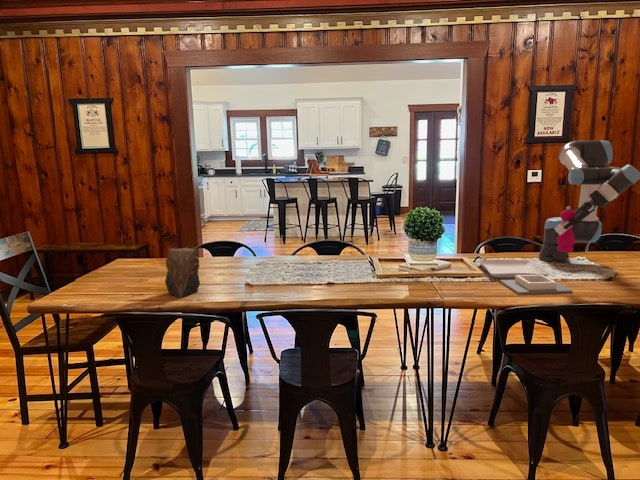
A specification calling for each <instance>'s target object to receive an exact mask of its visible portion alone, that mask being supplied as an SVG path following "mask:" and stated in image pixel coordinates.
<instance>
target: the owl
mask: <svg viewBox="0 0 640 480" xmlns="http://www.w3.org/2000/svg"><path fill="white" fill-rule="evenodd" d="M167 252H168V253H167V257H166V258H165V259H166V260H165V268H166V269H167V273H166V277H165V280H164V283H165V286H166V288H167V293H168V295H171V296H173V297H175V298H178V299H183V298H187V297H189V296H191V295H194V294H196V293H199V290H198V289H199V286H200V284H201V282H200V277H199V270H200V259H199V256H198V248H191V247H189V246H188V247H183V248H167Z"/></svg>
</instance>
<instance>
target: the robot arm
mask: <svg viewBox="0 0 640 480" xmlns="http://www.w3.org/2000/svg"><path fill="white" fill-rule="evenodd" d="M613 155H614V154H613V147H612V144H611V142H610V141H609V140H604V139H603V140H601V139H598V140H597V139H595V140H591V139H590V140H588V139H587V140H573V141H570V142H568V143H567V142H566V144H564V145H563V146H562V147H561V148H560V149H559V152H558V155H557V156H558V157H557V158H558V161H560V163H561V164H562V165H563V166H565V167H566V168H567V170H568V176H567V180H568V183H569V184H570V185H577V186H580V193H579V200H578V208H577V209H576V210H573V211H574V212H575V214H576V215H575V216H574V217H573V218H572V219H571V220H570V219H568V221H567V222H566V223H565V224H563V225H562V224H561V220H562V219H561V217H560V216H558V217H556V216H555V217H550V218H547V219H546V221H545V224H544V230H543V243H542V247H541V249H540V251H539V254H538V259H539V260H540V261H544V262H549V263H559V264H560V263H568V262H570V254H569V252H561V251H558V250H557V248H558V246H559V244H558V243H557V238H558V235H562V234H563V233H564V232H565V231H567V230H568V229H569V228H570V227H572V231H573V234H574V237H575V243H576V242H577V243H585V244H586V243H587V244H588V243H595V242H597V241H598V240H599V239H600V236H601V234H602V230H603V229H602V227H603V225H602V222H601V221H600V218H599V217H598V216H597V210H598V206H599V208H602V209H603V208H604V207H606V205H608V204H609V203H610V202H611V201H613V200H614V199H615V200H616V199H617V198H618V196H620V195H621V194H622V193H624V192H625V191H626V190H627V189H628V188H630V187H631V186H633V185H634V184H635V183H637V181H639V180H640V171H639V170H638V169H637V168H636V167H635V166H633V165H631V164H626V165H624V166H623V167H620V166H609V167H607V165H609V164H611V163H612V161H613Z"/></svg>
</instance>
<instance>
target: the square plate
mask: <svg viewBox="0 0 640 480" xmlns="http://www.w3.org/2000/svg"><path fill="white" fill-rule="evenodd" d="M477 262H478V263H479V265H480V266H481V267H482V268H483V269H485V270H486V271H487V272H488V274H489V275H490V276H491V277H493V278H500V279H501V278H502V279H515V275H543V276H545V277H548V276H549V275H550V273H549V272H548V271H547V270H545V269H544V268H542V267H541V266H540V265H538V264H537V263H535V262H534V261H532V260H529V259H527V260H525V259H480V260H479V259H478V260H477Z"/></svg>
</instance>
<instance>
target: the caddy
mask: <svg viewBox="0 0 640 480" xmlns="http://www.w3.org/2000/svg"><path fill="white" fill-rule="evenodd" d="M499 283H500V284H502V285H503V286H505V287H506V288H508V289H509V290H511V291H512V292H513V293H515V294H517V295H541V294H544V295H545V294H547V295H548V294H572V293H573V290H572V289H570V288H569V287H567V286H565V285H563V284H560V283H559V282H557V281H556V280H553V279H551V278H549V277H548V276H546V277H545V276H543V275H515V278H514V279H499Z"/></svg>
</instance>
